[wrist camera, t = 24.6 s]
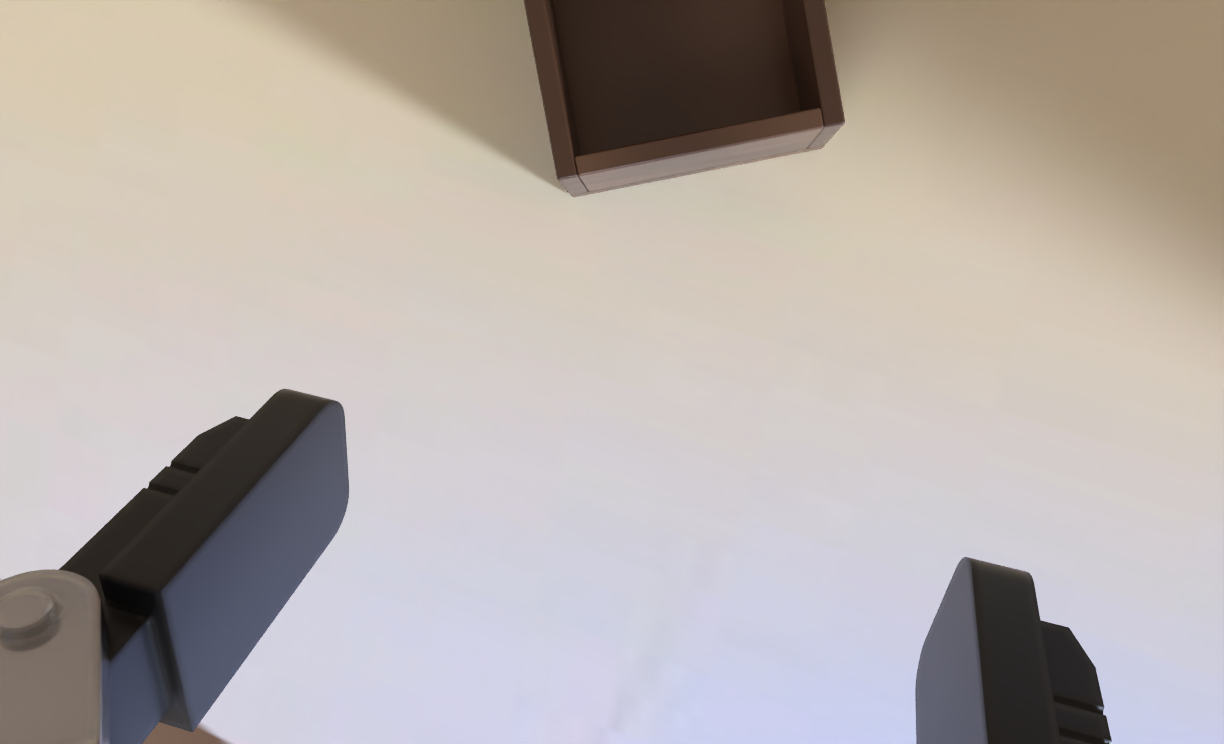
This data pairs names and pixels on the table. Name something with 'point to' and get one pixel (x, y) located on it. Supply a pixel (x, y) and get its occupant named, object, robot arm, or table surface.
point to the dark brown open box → (680, 85)
